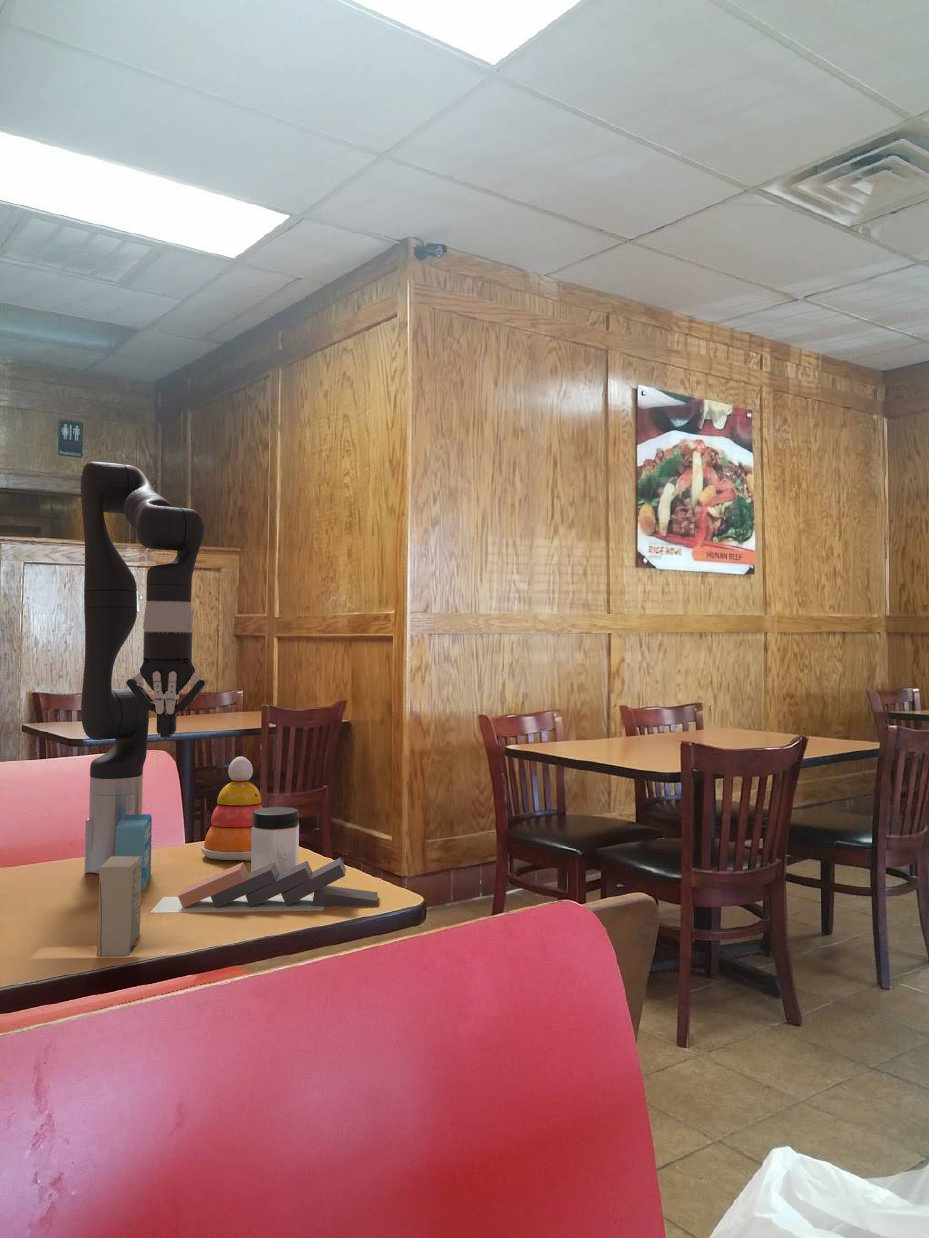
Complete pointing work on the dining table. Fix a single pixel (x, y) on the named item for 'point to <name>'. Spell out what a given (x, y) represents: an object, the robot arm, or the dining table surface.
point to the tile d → (316, 881)
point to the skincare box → (119, 905)
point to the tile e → (344, 897)
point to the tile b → (247, 885)
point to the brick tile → (213, 885)
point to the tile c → (281, 884)
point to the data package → (136, 841)
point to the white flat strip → (235, 905)
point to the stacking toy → (233, 816)
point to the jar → (275, 838)
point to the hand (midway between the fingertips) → (166, 736)
